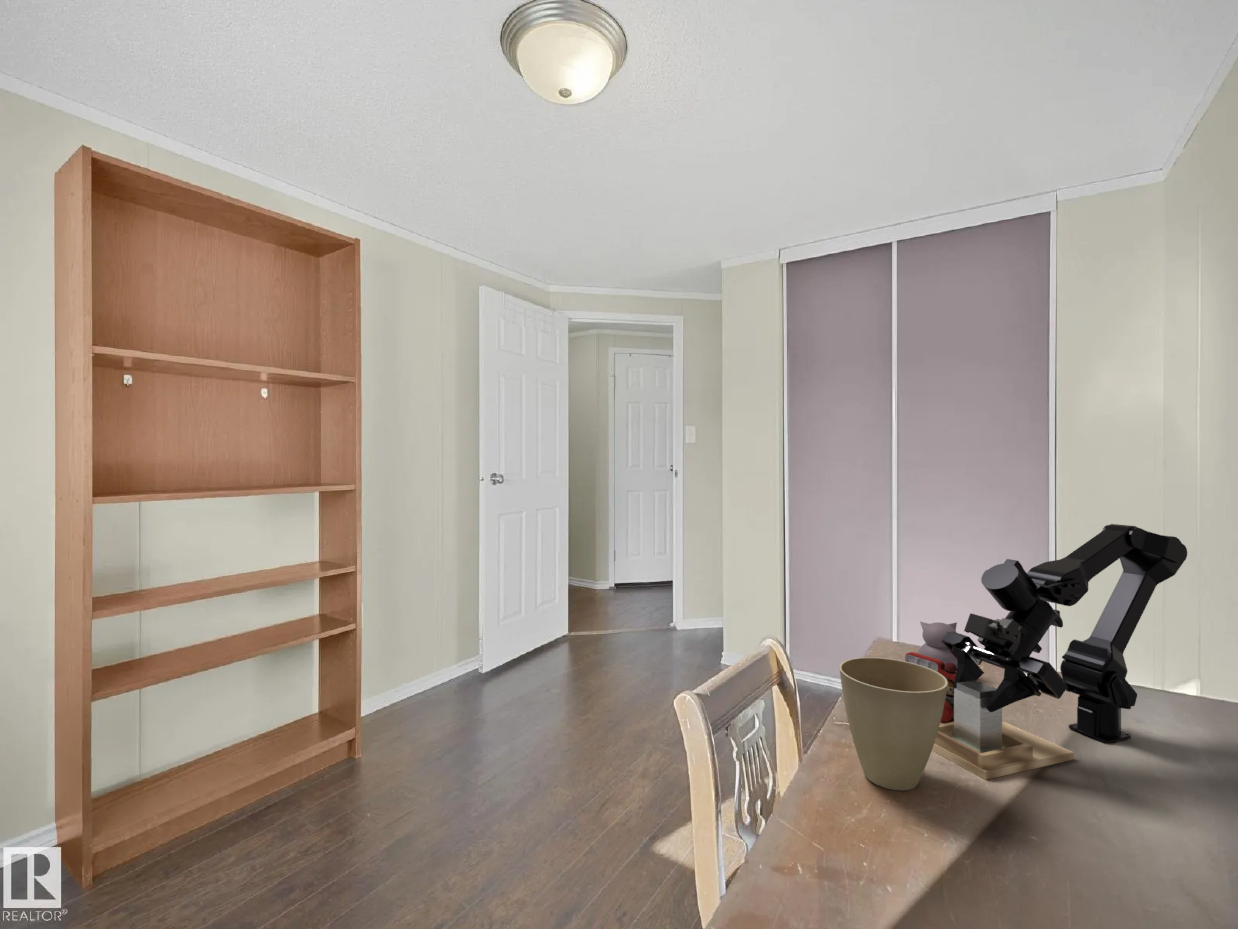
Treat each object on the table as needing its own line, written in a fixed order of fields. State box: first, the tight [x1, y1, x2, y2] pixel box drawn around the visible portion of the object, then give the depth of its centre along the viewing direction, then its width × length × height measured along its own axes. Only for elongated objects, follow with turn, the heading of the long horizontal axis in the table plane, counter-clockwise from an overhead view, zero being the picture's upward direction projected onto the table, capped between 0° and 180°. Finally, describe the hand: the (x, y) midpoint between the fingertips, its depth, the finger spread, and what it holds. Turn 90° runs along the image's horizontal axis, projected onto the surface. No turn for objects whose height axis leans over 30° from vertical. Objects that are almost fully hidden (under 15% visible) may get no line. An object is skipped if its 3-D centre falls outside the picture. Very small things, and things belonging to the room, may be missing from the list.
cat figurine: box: [918, 621, 958, 679], centre depth 134 cm, size 8×8×12 cm
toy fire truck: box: [904, 651, 957, 724], centre depth 114 cm, size 7×12×10 cm, turn 32°
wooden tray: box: [932, 721, 1075, 781], centre depth 99 cm, size 19×12×3 cm, turn 109°
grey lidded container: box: [953, 680, 1003, 753], centre depth 97 cm, size 4×5×10 cm
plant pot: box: [838, 656, 948, 792], centre depth 90 cm, size 15×15×16 cm
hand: (970, 702), depth 97 cm, fingers open, 6 cm apart
